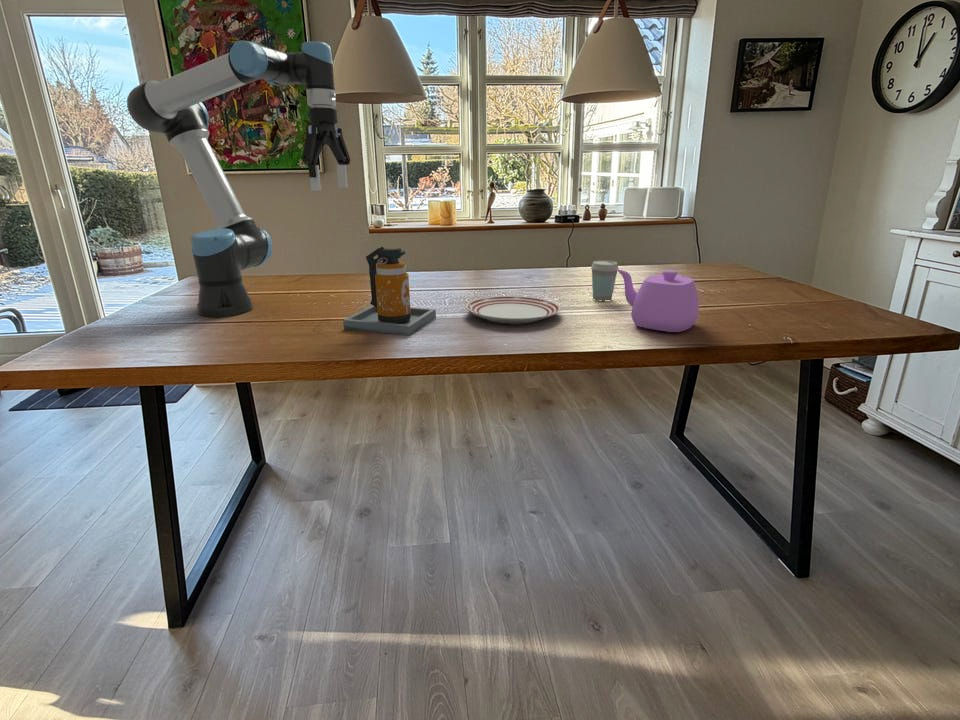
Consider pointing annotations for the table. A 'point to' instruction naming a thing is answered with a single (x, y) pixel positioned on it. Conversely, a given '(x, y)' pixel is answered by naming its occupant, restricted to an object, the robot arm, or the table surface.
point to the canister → (389, 285)
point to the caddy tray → (370, 322)
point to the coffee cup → (603, 279)
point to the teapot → (663, 301)
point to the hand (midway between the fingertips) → (330, 189)
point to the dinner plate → (512, 309)
